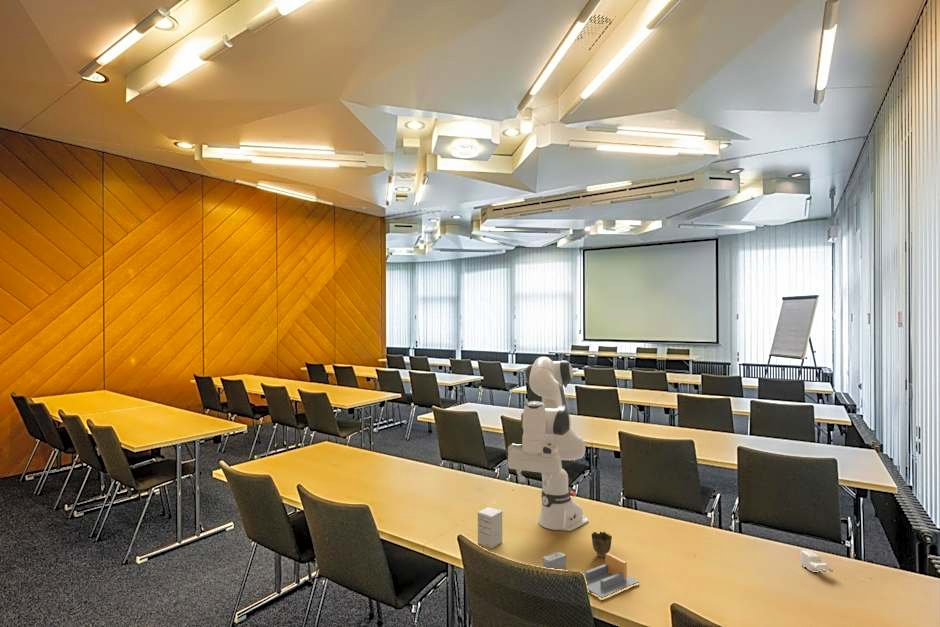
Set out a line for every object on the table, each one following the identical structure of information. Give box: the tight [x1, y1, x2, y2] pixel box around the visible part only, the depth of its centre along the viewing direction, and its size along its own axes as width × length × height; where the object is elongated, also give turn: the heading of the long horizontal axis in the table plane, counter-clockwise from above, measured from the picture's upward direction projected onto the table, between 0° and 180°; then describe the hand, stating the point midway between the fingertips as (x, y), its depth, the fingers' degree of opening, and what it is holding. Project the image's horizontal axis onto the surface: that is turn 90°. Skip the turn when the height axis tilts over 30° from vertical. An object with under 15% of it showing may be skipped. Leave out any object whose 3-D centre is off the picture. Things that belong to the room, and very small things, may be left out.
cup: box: [591, 531, 613, 559], centre depth 191 cm, size 8×7×8 cm
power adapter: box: [800, 549, 834, 573], centre depth 179 cm, size 11×5×6 cm, turn 6°
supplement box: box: [477, 506, 503, 549], centre depth 201 cm, size 7×7×13 cm
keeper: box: [582, 552, 640, 598], centre depth 171 cm, size 18×14×7 cm
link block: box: [542, 551, 567, 570], centre depth 180 cm, size 8×4×5 cm, turn 123°
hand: (534, 483), depth 187 cm, fingers open, 8 cm apart
